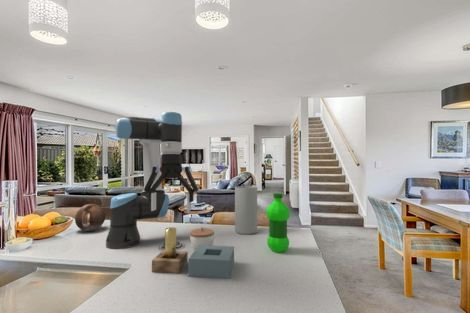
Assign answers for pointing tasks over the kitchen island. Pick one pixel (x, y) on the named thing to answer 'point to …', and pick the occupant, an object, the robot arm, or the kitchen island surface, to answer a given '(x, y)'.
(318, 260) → the kitchen island surface
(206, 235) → the lidded jar
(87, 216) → the wooden sphere
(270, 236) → the plastic bottle
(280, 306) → the kitchen island surface
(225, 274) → the dock socket
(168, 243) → the brass pin
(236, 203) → the cylinder vase
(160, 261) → the block
